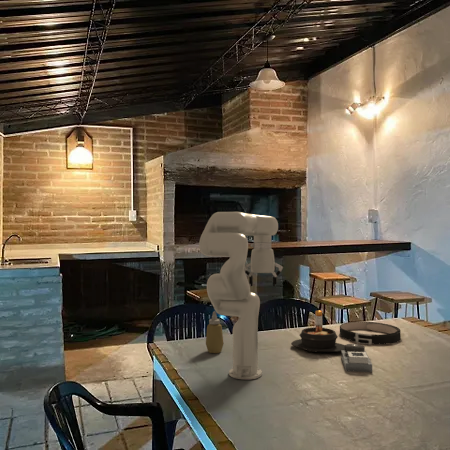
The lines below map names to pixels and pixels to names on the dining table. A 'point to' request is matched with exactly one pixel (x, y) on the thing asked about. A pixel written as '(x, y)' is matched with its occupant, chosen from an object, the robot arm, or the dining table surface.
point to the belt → (370, 339)
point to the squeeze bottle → (214, 335)
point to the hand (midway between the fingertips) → (262, 285)
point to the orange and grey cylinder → (319, 321)
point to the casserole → (318, 341)
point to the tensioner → (356, 358)
